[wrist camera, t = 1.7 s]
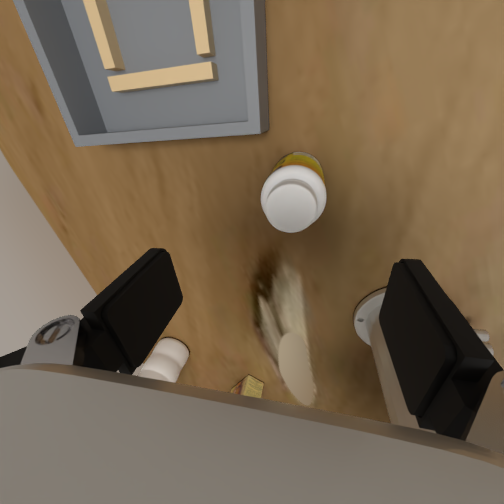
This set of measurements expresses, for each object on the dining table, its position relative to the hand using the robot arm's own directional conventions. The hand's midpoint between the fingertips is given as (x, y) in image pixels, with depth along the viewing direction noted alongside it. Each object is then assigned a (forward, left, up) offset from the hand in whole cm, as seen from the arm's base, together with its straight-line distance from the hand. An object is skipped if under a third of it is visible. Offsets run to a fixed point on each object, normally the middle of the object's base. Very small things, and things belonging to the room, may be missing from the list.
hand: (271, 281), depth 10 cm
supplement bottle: (0, 0, -20) cm, 20 cm away
